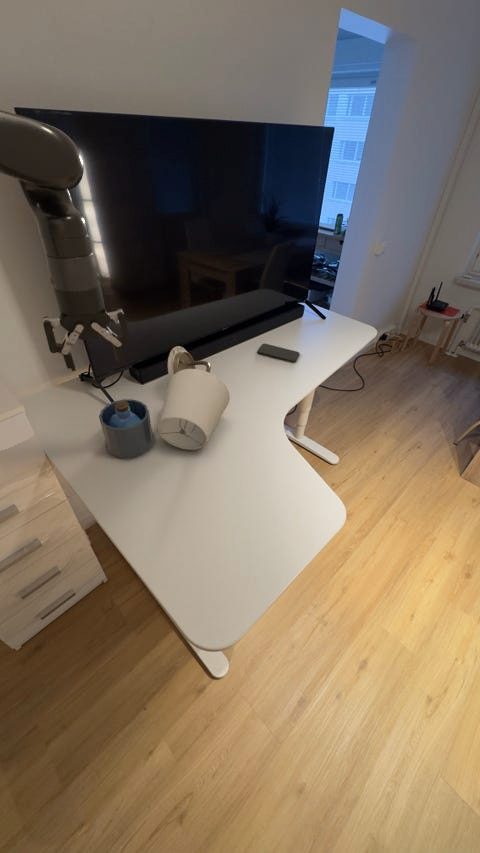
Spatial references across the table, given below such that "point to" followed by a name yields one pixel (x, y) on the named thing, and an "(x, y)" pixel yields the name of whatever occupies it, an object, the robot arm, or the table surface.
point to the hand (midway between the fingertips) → (96, 365)
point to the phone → (278, 352)
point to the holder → (127, 431)
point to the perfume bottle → (123, 416)
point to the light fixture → (191, 402)
